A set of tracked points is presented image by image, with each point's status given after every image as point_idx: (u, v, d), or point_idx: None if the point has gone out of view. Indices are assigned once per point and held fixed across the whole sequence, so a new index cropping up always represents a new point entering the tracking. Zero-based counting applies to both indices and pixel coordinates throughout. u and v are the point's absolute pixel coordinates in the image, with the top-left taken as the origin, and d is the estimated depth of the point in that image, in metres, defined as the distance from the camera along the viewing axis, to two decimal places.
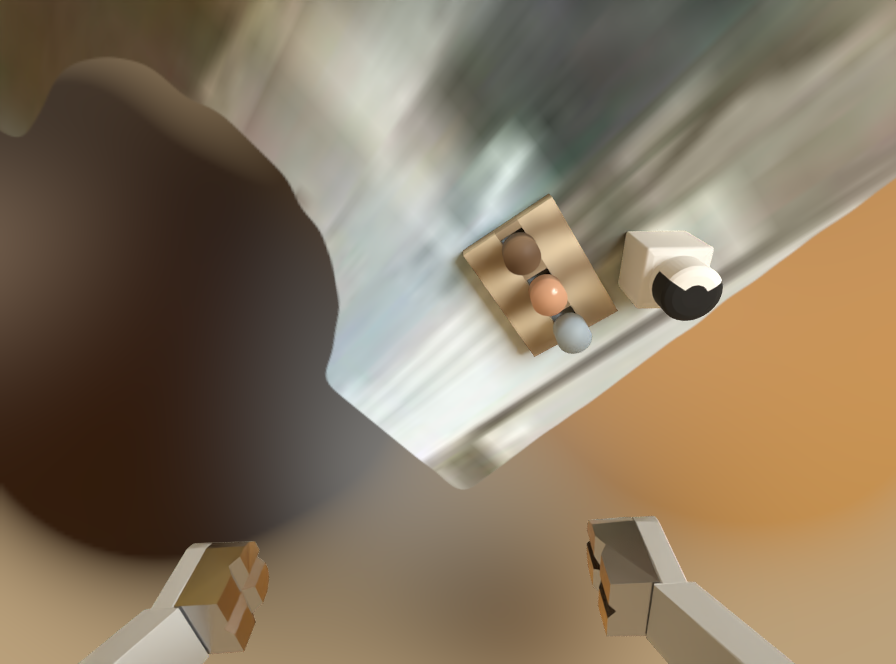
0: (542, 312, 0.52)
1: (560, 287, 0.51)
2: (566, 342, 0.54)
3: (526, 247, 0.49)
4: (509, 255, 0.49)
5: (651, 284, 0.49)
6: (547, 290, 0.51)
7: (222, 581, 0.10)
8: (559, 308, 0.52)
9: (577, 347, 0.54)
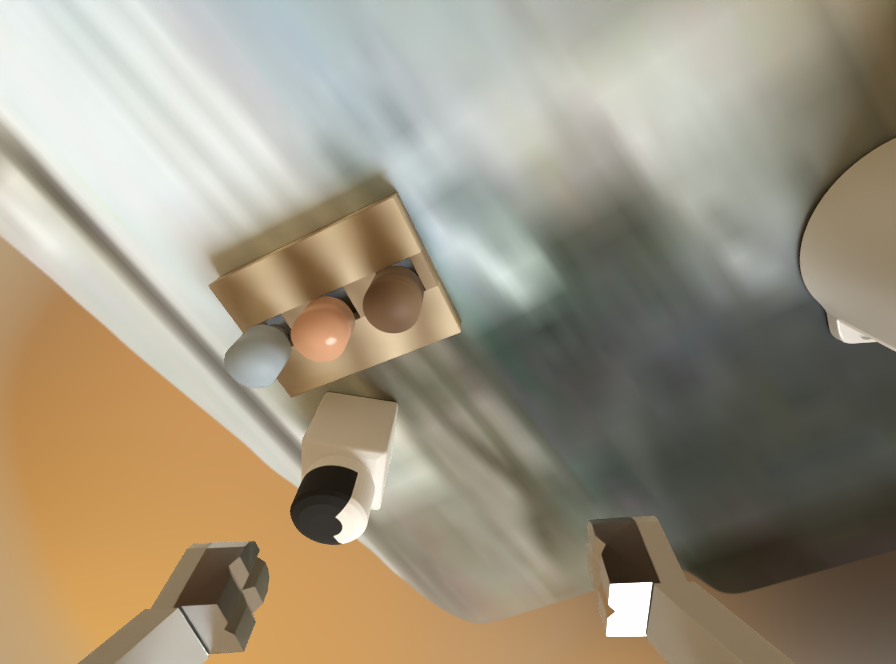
0: (296, 325, 0.32)
1: (338, 354, 0.33)
2: (244, 355, 0.34)
3: (407, 315, 0.32)
4: (398, 289, 0.31)
5: (339, 463, 0.36)
6: (334, 336, 0.33)
7: (222, 581, 0.10)
8: (303, 350, 0.33)
9: (236, 369, 0.34)
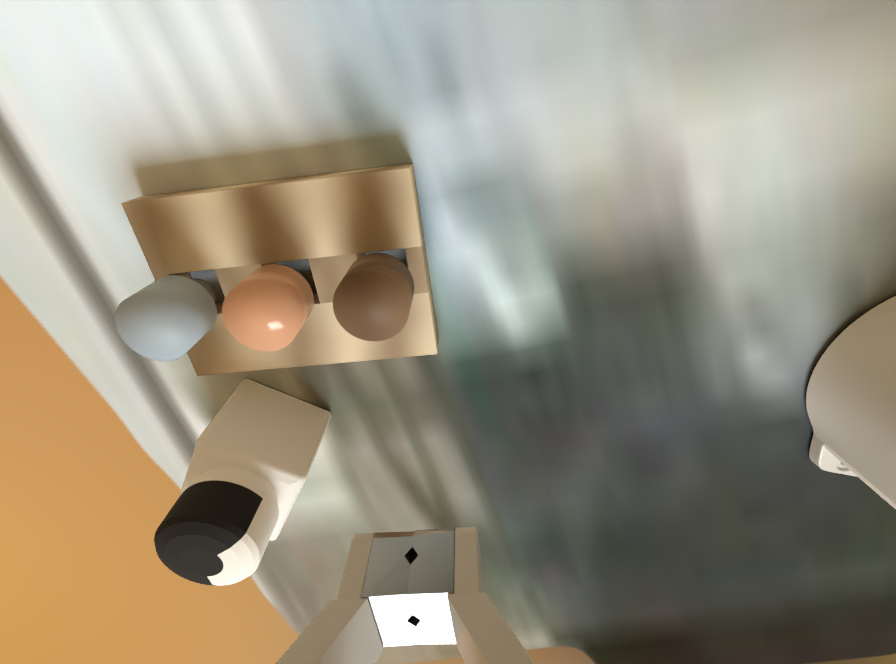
0: (234, 294, 0.24)
1: (281, 346, 0.25)
2: (147, 313, 0.24)
3: (388, 322, 0.24)
4: (387, 287, 0.23)
5: (241, 481, 0.28)
6: (283, 322, 0.24)
7: (401, 571, 0.10)
8: (235, 328, 0.24)
9: (129, 327, 0.25)
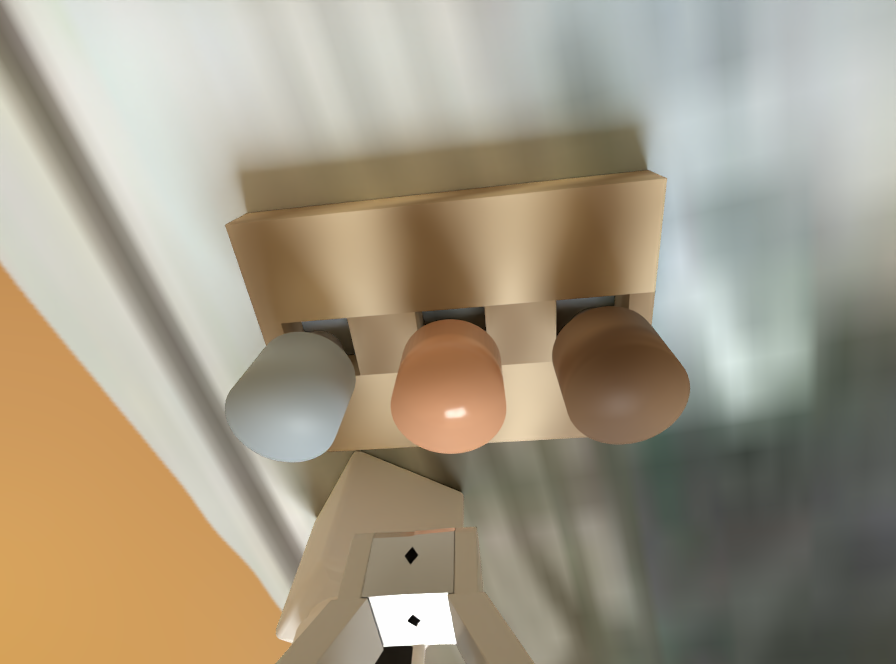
0: (416, 375, 0.15)
1: (472, 446, 0.16)
2: (276, 397, 0.16)
3: (648, 419, 0.16)
4: (663, 370, 0.15)
5: None
6: (483, 416, 0.16)
7: (401, 572, 0.10)
8: (406, 422, 0.16)
9: (246, 417, 0.16)
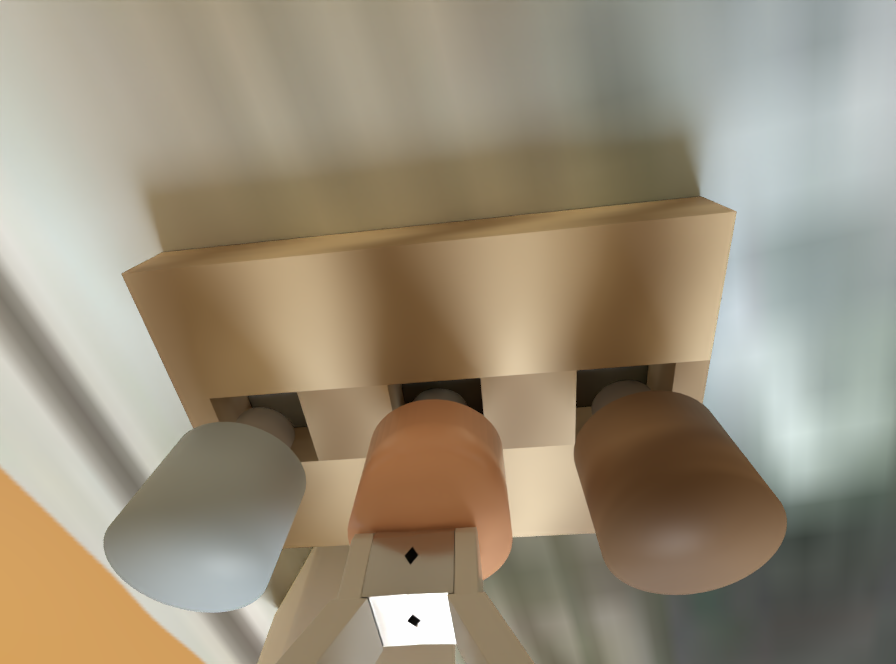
0: (382, 498, 0.10)
1: None
2: (176, 536, 0.11)
3: (720, 565, 0.11)
4: (749, 505, 0.10)
5: None
6: (479, 547, 0.11)
7: (401, 572, 0.10)
8: None
9: (136, 559, 0.11)
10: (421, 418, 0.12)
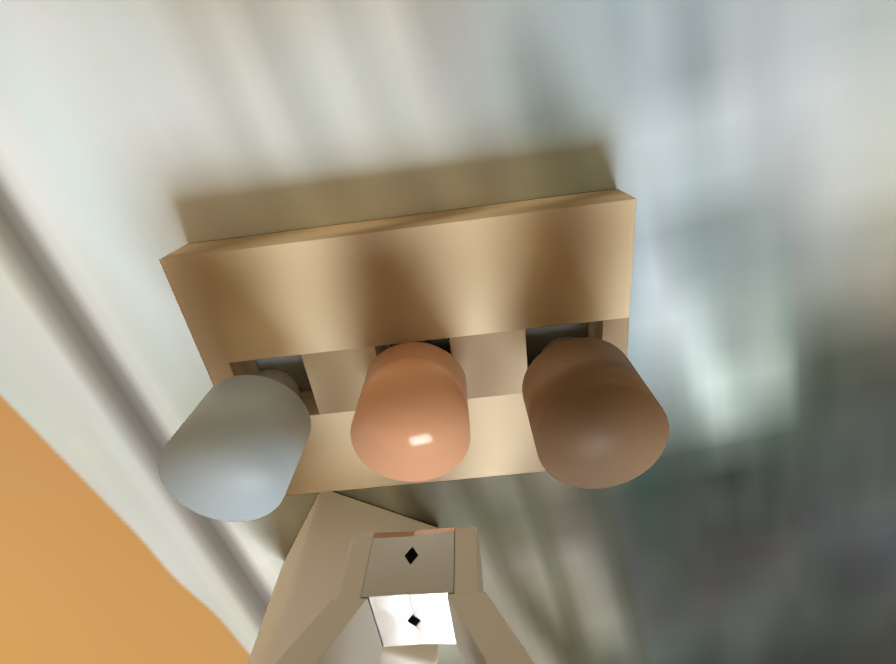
0: (375, 404, 0.15)
1: (437, 474, 0.16)
2: (215, 454, 0.14)
3: (626, 461, 0.14)
4: (639, 410, 0.13)
5: None
6: (446, 442, 0.15)
7: (401, 571, 0.10)
8: (368, 451, 0.15)
9: (183, 476, 0.15)
10: (402, 354, 0.16)
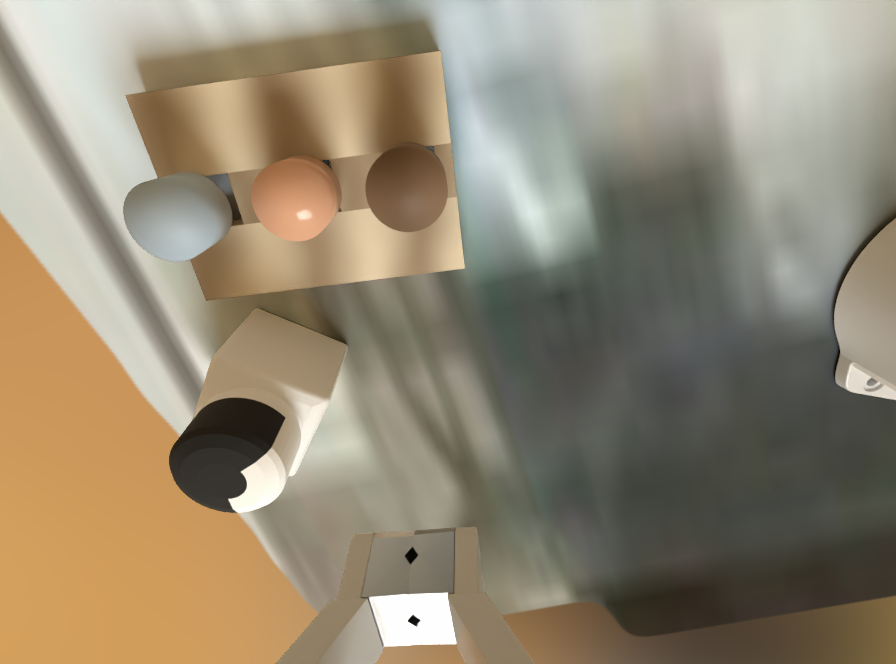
0: (265, 175, 0.23)
1: (313, 234, 0.24)
2: (160, 202, 0.22)
3: (425, 208, 0.22)
4: (425, 166, 0.22)
5: (262, 399, 0.26)
6: (316, 207, 0.23)
7: (401, 571, 0.10)
8: (264, 214, 0.23)
9: (140, 221, 0.22)
10: (290, 157, 0.24)
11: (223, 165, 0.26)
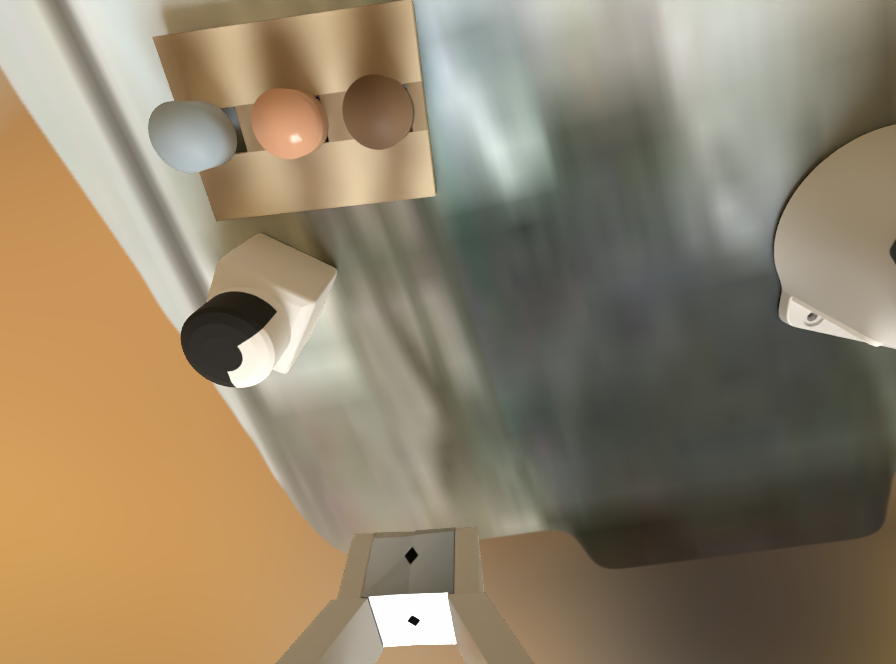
0: (262, 100, 0.28)
1: (301, 153, 0.29)
2: (177, 120, 0.27)
3: (391, 129, 0.27)
4: (391, 91, 0.26)
5: (258, 294, 0.31)
6: (303, 129, 0.28)
7: (401, 572, 0.10)
8: (262, 135, 0.28)
9: (161, 136, 0.28)
10: None
11: (231, 99, 0.31)
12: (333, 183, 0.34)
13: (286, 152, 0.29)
